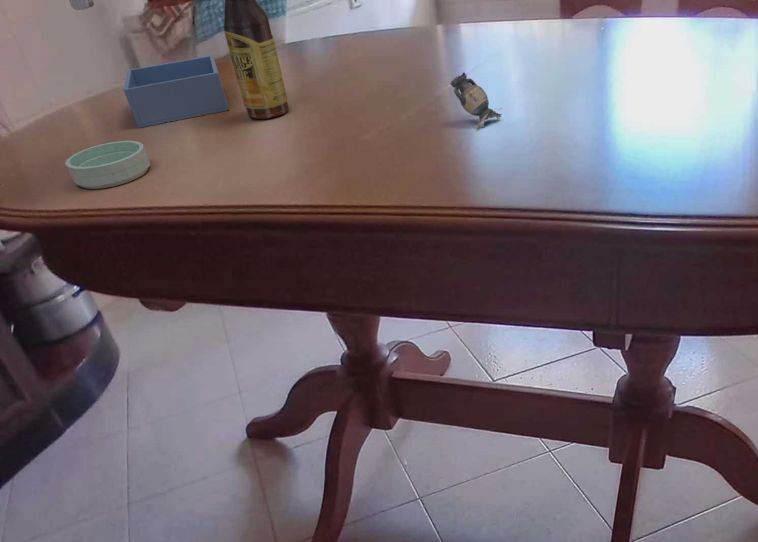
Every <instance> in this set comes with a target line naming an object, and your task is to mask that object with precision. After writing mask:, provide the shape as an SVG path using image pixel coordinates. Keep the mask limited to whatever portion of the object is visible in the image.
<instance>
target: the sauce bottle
mask: <svg viewBox="0 0 758 542" xmlns="http://www.w3.org/2000/svg"><path fill="white" fill-rule="evenodd" d="M223 17H224V20H223V32H224V36H225V37H224V38H225V41H226V44H227V47H228V50H229V55H230V59H231V63H232V66H233V69H234V74H235V77H236V80H237V84H238V87H239V92H240V94H241V98H242V102H243V105H244V107H245V110H246V112H247V115H248V117H250V118H251V119H257V120H268V119H272V118H276V117H279V116H282V115H284V114H286V113H287V112H289V109H290V108H289V103H288V100H289V99H288V94H287V89H286V86H285V82H284V78H283V73H282V69H281V64H280V60H279V56H278V51H277V48H276V42H275V39H274V36H273V34H272V29H271V24H270V20H269V17H268V15H267V13H266V11H265V10H264V9H263V7H262V6H261V5H260V4H259V3H258V1H257V0H224V16H223Z"/></svg>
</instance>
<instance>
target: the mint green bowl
mask: <svg viewBox="0 0 758 542" xmlns="http://www.w3.org/2000/svg"><path fill="white" fill-rule="evenodd" d="M145 147H146V146H145V145H144V144H143V143H142V142H141V141H135V140H119V141H111V142H106V143H102V144H101V143H100V144H97V145H94V146H91V147H87V148H85V149H83V150H80V151H78V152H76V153H74V154H72V155H71V156H70V157H69V158H67V159H66V160H65V163H64V165H65V167H66V169H67V171H68V173H69V175H70V178H71V179H72V182H73V183H74V184H75V185H76V186H79V187H81V188H83V189H89V190H98V189H99V190H100V189H101V190H102V189H107V188H113V187H116V186H120V185H121V186H122V185H124V184H126V183H127V184H128V183H129V182H132V181H134V180H137V179H138V178H141V177H142V176H144V175H145V174H147V172H148V170H149V167H150V166H151V160H150V158H149V155H148V152H147V150H146V148H145Z"/></svg>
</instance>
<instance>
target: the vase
mask: <svg viewBox="0 0 758 542" xmlns="http://www.w3.org/2000/svg"><path fill="white" fill-rule="evenodd" d="M468 74H470V72H468ZM450 86H451V87H453V88H454V89H453V93H454V95H455V96H456V98H457V99H458V100H459V102H460V105H461V107H462V108H463V109H464V111H465V112H467V113H468V114H469V115H472V116H476V117H478V118H479V121H478V123H477V124H476V125H473V126H472V127H470V130H472V129H473V128H474V130H475V132H477V130H478V129H480V128H485V122H486V120H488V119H493V118H496V119H497V120H499V119H501V117H502V115H503V113H498V112H497V111H499V110H502V109H503V108H502V107H500V108H496V110H497V111H496V110H494V109H492V108H490V107H489V105H490V102H489V98H488V95H487V93H486V91H485V90H484V88H483V87H482V86H480V85H478V84H477V83H476V82H475V80H473V79H472V78H467V74H466V72H463V73H462V74H461V75H458V76H455V78H453V79H452V80H451V81H450Z"/></svg>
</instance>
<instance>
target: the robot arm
mask: <svg viewBox="0 0 758 542" xmlns="http://www.w3.org/2000/svg"><path fill="white" fill-rule="evenodd" d="M68 1H69V4H70V6H71V8H72V9H73V10H75V11H83V10H88V9H90V8H92V7H93V6H94V4H95V3H94V0H68Z"/></svg>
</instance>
